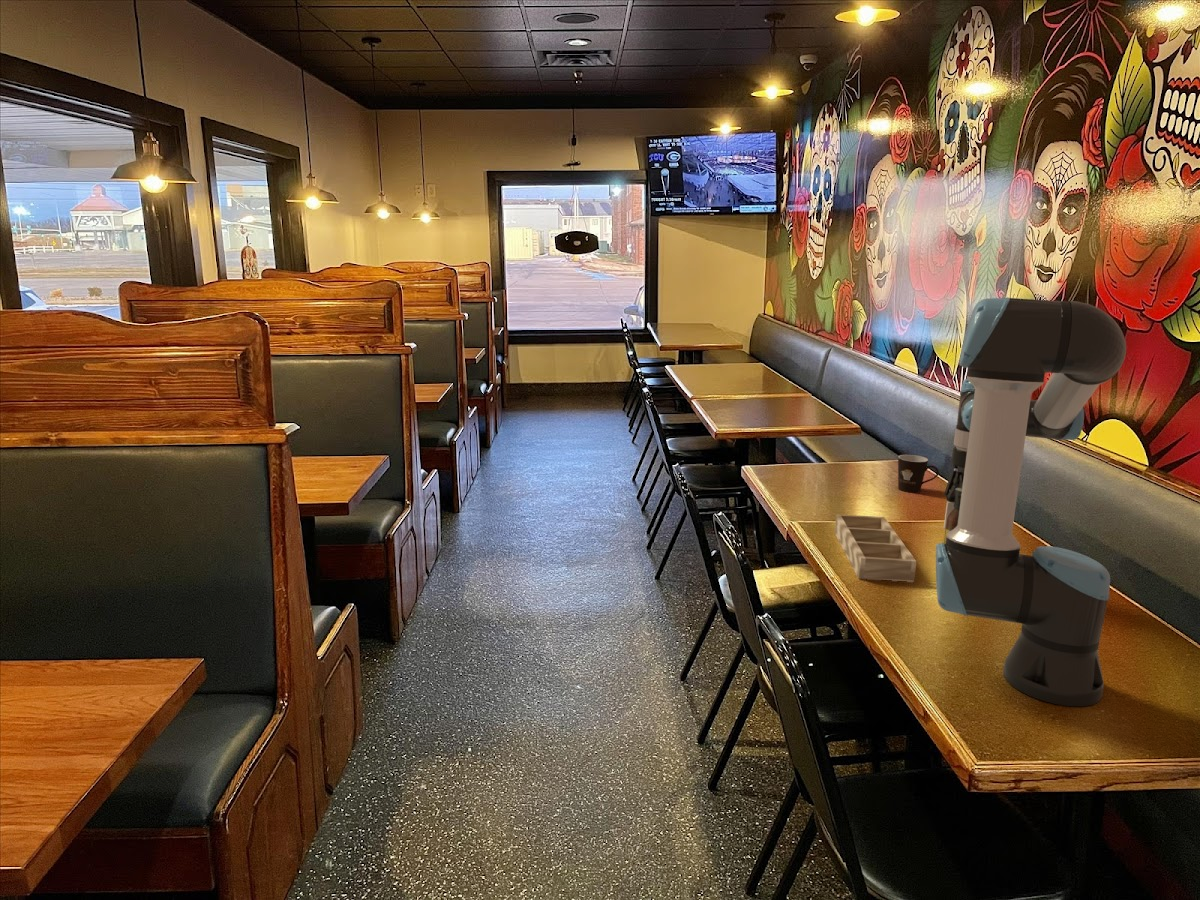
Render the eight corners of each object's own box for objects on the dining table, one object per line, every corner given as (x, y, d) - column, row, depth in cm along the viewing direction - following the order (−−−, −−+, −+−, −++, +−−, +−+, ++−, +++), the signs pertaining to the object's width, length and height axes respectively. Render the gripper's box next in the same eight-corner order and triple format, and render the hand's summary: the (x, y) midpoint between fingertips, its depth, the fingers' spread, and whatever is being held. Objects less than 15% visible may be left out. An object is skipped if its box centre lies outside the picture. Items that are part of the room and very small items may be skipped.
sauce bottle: (971, 579, 189) (984, 495, 184) (942, 576, 190) (954, 493, 186) (965, 568, 195) (977, 487, 191) (937, 566, 197) (948, 484, 192)
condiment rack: (913, 582, 187) (916, 561, 185) (858, 579, 188) (861, 558, 186) (881, 535, 217) (884, 517, 215) (834, 532, 218) (836, 514, 216)
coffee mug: (888, 487, 260) (892, 456, 258) (909, 484, 264) (913, 453, 261) (916, 497, 250) (920, 465, 248) (937, 494, 254) (942, 463, 251)
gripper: (1010, 464, 173) (995, 560, 179) (970, 436, 197) (958, 521, 203) (973, 462, 174) (959, 558, 179) (937, 434, 198) (926, 520, 203)
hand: (959, 538), depth 191 cm, fingers open, 13 cm apart
